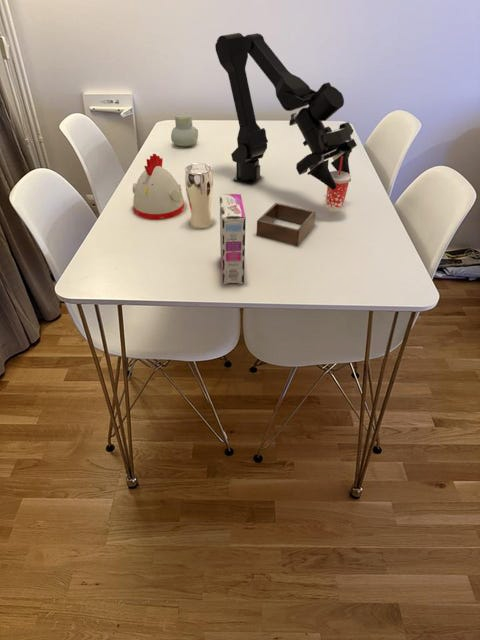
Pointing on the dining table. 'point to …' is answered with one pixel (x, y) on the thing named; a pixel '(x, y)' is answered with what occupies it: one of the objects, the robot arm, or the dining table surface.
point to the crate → (282, 232)
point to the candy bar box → (232, 238)
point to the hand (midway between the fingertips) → (342, 185)
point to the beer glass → (199, 194)
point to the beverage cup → (337, 190)
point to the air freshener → (184, 130)
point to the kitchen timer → (157, 192)
